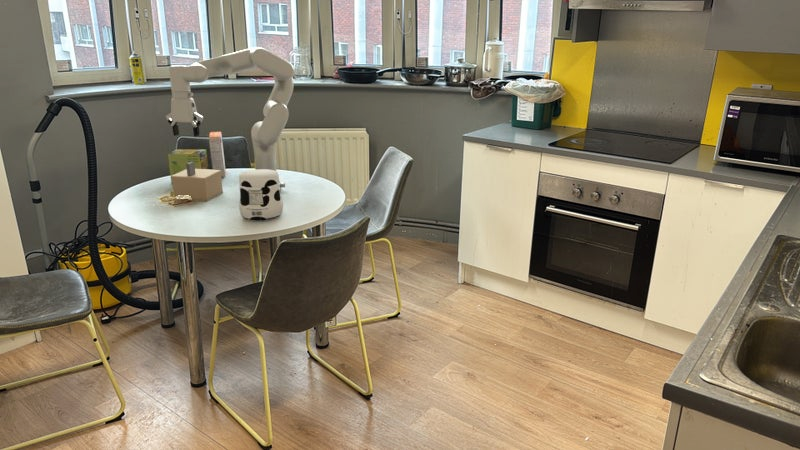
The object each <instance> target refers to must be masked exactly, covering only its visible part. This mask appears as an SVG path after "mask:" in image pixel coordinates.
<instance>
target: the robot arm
mask: <svg viewBox="0 0 800 450" xmlns="http://www.w3.org/2000/svg"><path fill="white" fill-rule="evenodd" d="M257 68H258V69H260V70H262V71H263V72H264V73H266V74H268V75H270V76H272V77H273V79H274V83H273V85H274V86H273V87H272V90H271V93H270V94H269V96H268V99H267V101H266V103H265V105H264V107H263V111H262V114H263V116H264V118H263V120H262V121H257V122H255V123H254V124H253V126H252V127H251V130H250V131H251V133H250V134H251V135H250V136H251V141H252V142H251V143H252V147H253V157H254V170H257V169H268V170H275V171H277V162H276V160H277V159H276V148H275V144H276V143H277V142H278V141H279V138H280V136H281V134H282V133H283V130H284V129H285V127H286V124H287V122H288V120H289V115H290V112H289V108H288V104H289V102H290V99H291V98H292V95H293V92H294V88H295V87H294V85H295V84H294V83H295V82H294V75H295V69H294V68H295V67H294V65H293V64H292V63H290V62H289V61H288V60H286V59H284V58H282V57H281V56H278V55H276V54H274V52H273V53H272V52H271V51H269V50H267V49H266V48H263V47H261V46H255V47H254V46H253V47H249V48H246V49H243V50H242V49H241V50H239V51H235V52H231V53H227V54H223V55H220V56H216V57H213V58H212V57H211V58H207V59H204V60H199V61H197V62H193V63H191V64H189V65H185V64H174V65H173V64H172V65H170V66H169V67H168V72H169V78H170V79H169V81H170V87H171V95H172V96H171V101H170V112H169V113H168V114H166V115H165V118H166V120H167V122H168V124H169V125H170V126H171V128H172V133H173V136H175V137H176V136H179V135H180V130H179V125H178V124H179V123H182V124H183V123H184V124H185V123H186V124H191V125H192V126H193V127H192V130H193V137H199V136H200V126H201V124H202V123H203V120H204V116H203V115H201V114H199V113H198V109H197V106H196V102H195V99H194V98H193V97H194V93H193V92H192V90H191V83H195V84H201V83H202V84H203V83H205V82H206V81H208V79H210V78H212V77H215V76H216V77H217V76H223V75H229V76H230V75H235V74H239V73H243V72H247V71H250V70H253V69H257ZM279 184H280V190H282V188H286V182H281V181H279Z"/></svg>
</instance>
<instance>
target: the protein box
mask: <svg viewBox="0 0 800 450" xmlns="http://www.w3.org/2000/svg"><path fill="white" fill-rule="evenodd" d="M207 155H208V154H207V149H205V148H204V149H203V148H202V149H174V150H173V151H171V152H169V153H168V154H167V158H168V166H169V174H170V175H169V176H170V184H171V186H173V184H172V177H171V176H172V175H174V174H176V173H179V172H181V171H183V170H186V169H187V167H186V164H187V163H189V162H194V165H195V169H209V164H208V163H209V162H208V156H207Z"/></svg>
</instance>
